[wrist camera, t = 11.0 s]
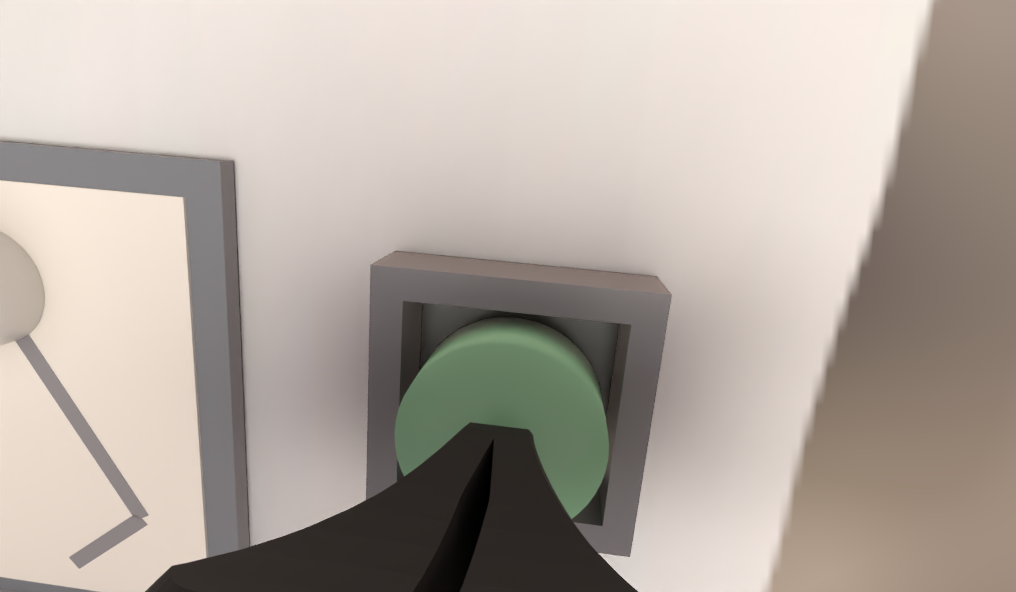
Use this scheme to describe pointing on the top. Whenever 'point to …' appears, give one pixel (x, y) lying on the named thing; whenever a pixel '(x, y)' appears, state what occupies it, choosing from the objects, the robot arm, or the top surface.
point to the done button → (511, 401)
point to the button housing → (528, 291)
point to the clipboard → (121, 371)
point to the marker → (18, 292)
